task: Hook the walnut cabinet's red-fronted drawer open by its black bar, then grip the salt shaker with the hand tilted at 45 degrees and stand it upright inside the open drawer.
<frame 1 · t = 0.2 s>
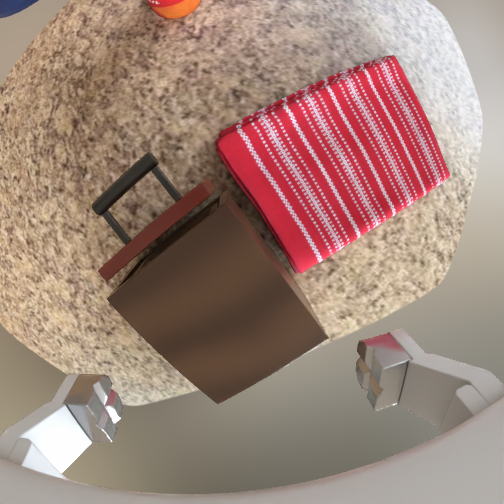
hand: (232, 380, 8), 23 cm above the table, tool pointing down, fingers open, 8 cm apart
drawer: (185, 256, 26), point 5 cm above the table, slide at 1.0 cm
dish towel: (345, 155, 30), on the table
paper cup: (177, 1, 23), on the table
cabinet: (221, 278, 32), on the table
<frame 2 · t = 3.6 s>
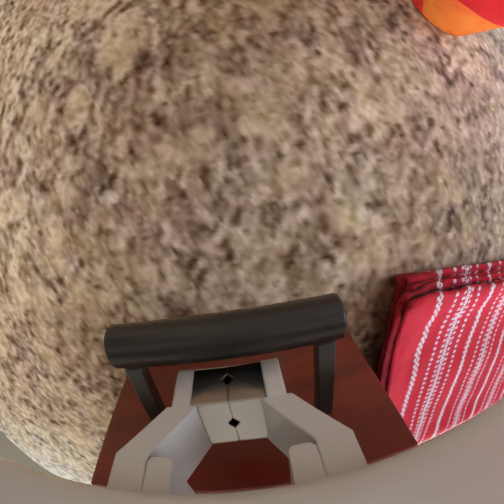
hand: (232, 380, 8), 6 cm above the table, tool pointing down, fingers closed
drawer: (255, 459, 12), point 5 cm above the table, slide at 1.5 cm
dish towel: (477, 350, 18), on the table
paper cup: (436, 1, 10), on the table
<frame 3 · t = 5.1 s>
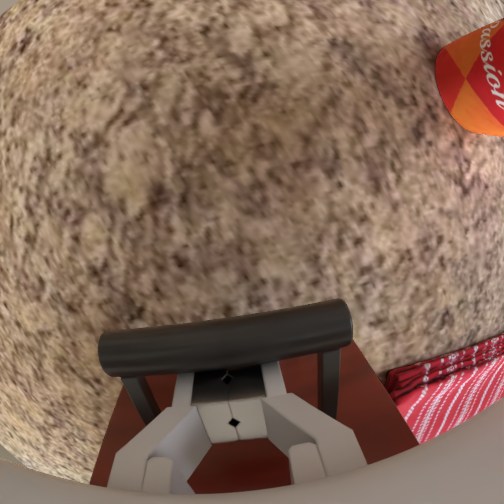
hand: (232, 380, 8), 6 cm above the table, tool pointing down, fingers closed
drawer: (256, 466, 11), point 5 cm above the table, slide at 7.9 cm
dish towel: (461, 405, 20), on the table
paper cup: (465, 89, 12), on the table
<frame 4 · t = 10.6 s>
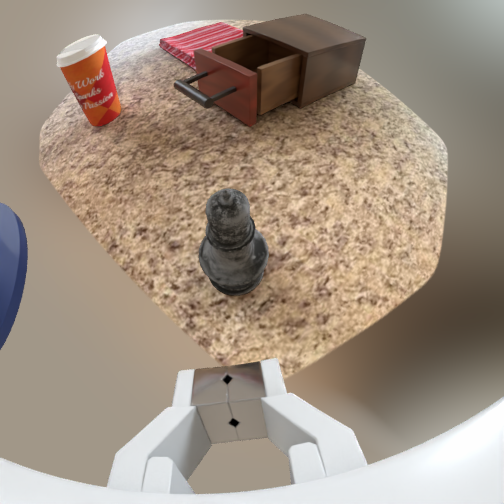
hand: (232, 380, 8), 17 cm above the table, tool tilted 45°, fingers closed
drawer: (245, 75, 35), point 5 cm above the table, slide at 8.0 cm
dish towel: (218, 50, 48), on the table
paper cup: (106, 116, 39), on the table
cabinet: (301, 77, 43), on the table
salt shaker: (235, 269, 28), on the table
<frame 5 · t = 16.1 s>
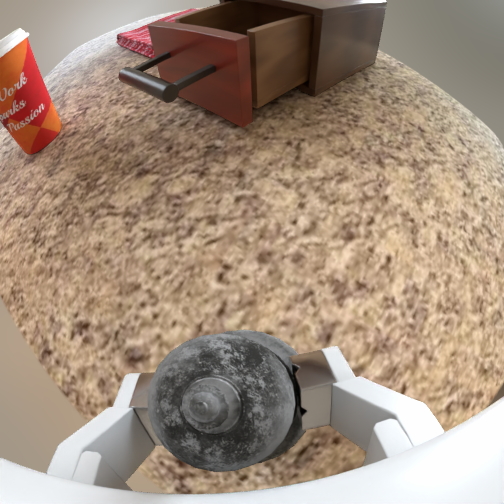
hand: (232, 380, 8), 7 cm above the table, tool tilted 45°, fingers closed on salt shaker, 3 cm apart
drawer: (228, 52, 22), point 5 cm above the table, slide at 8.0 cm
dish towel: (190, 37, 35), on the table
paper cup: (44, 138, 26), on the table
cabinet: (304, 58, 30), on the table
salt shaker: (247, 397, 14), on the table, touching gripper
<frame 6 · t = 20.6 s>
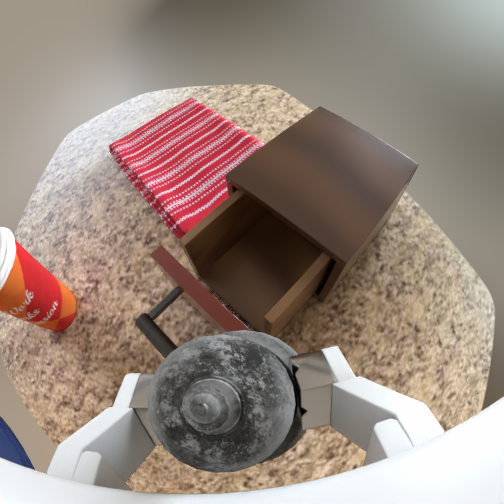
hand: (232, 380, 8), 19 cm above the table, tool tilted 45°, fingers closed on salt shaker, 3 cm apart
drawer: (241, 281, 26), point 5 cm above the table, slide at 8.0 cm
dish towel: (191, 161, 39), on the table
paper cup: (60, 309, 30), on the table
cabinet: (317, 223, 34), on the table
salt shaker: (247, 397, 14), point 13 cm above the table, touching gripper
when the fingers open (9 cm above the table, at t = 25.2 s): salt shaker stays where it is, resting on drawer.
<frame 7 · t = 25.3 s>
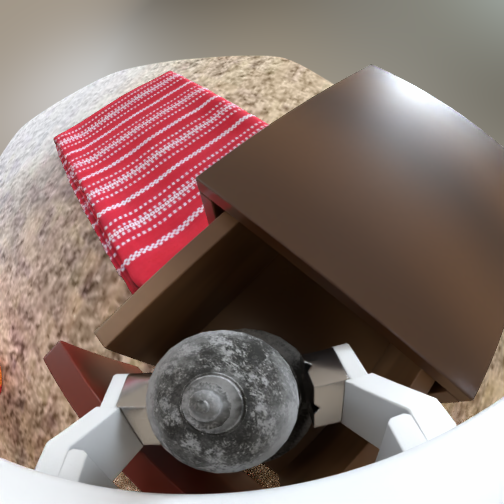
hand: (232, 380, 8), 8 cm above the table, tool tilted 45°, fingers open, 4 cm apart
drawer: (237, 403, 11), point 5 cm above the table, slide at 7.9 cm, touching gripper, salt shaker
dish towel: (162, 156, 25), on the table
cabinet: (365, 260, 19), on the table
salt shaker: (248, 397, 14), point 2 cm above the table, touching drawer
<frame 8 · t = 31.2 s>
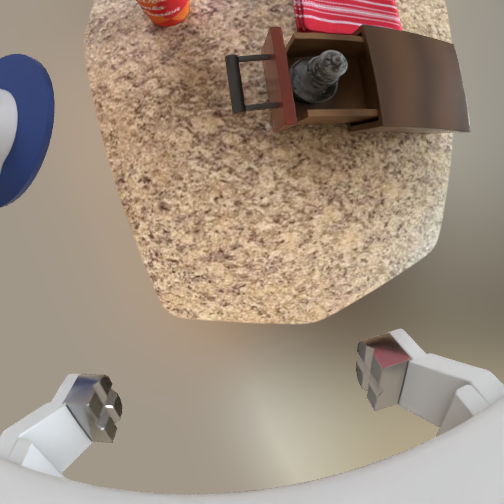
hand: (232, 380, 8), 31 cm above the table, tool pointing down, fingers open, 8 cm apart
drawer: (308, 80, 29), point 5 cm above the table, slide at 9.3 cm, touching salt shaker
paper cup: (170, 12, 29), on the table
cabinet: (386, 91, 35), on the table
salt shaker: (305, 87, 32), point 2 cm above the table, touching drawer
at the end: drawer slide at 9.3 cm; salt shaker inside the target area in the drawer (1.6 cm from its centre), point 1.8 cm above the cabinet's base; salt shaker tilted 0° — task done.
